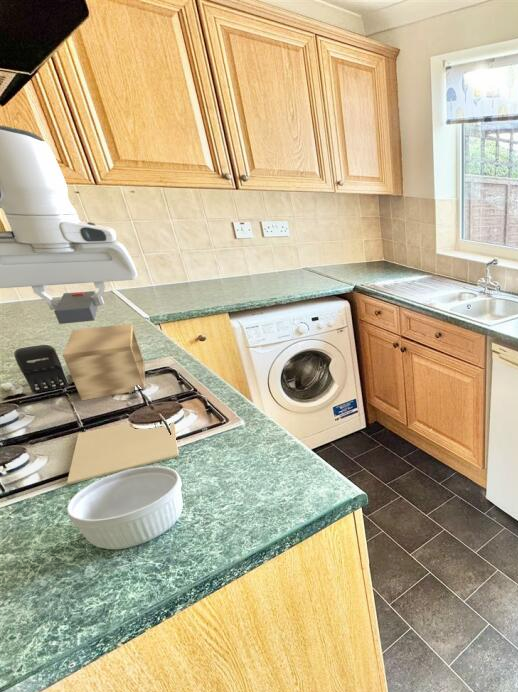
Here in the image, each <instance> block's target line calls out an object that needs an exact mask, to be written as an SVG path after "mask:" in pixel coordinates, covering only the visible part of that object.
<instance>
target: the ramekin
mask: <svg viewBox="0 0 518 692" xmlns="http://www.w3.org/2000/svg"><path fill="white" fill-rule="evenodd" d="M182 484H183V483H182V479H181V476H180V474H179V473H178V472H177V471H176V470H175V469H173V468H171V467H167V466H160V465H159V466H158V465H151V466H139V467H135V468H132V469H128V470H124V471H120V472H116V473H112V474H109V475H106V476H105V477H103V478H100V479H98V480H96V481H93V482H92V483H90V484H88V485H87V486H85V487H84V488H82V489H81V490H79V491H78V492H77V493H75V495H73V496H72V498H71V499H70V500H69V502H68V504H67V506H66V513H67V517H68V519H69V520H70V522H71V523H72V524H74V525H75V526H76V527H77V528H78V530H79V531H80V532H81V534H82V536H83V537H84V538H85V539H86V540H87V541H88V542H89V543H90V544H91V545H92V546H94V547H97V548H99V549H105V550H123V549H129V548H133V547H137V546H139V545H142V544H146V543H148V542H151V541H152V540H154V539H156V538H158V537H160V536H161V535H163V534H165V533H166V532H167V531H168V530H170V529H171V528H172V527H173V526H174V525H175V524H176V523H177V521H178V520H179V519H180V516H181V515H182V512H183V507H184V502H183V494H182Z"/></svg>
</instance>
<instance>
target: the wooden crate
mask: <svg viewBox="0 0 518 692" xmlns="http://www.w3.org/2000/svg"><path fill="white" fill-rule="evenodd" d="M62 357H63V359H64V361H65V365H66V367H67V369H68V371H69V373H70V376H71V379H72V381H73V383H74V386H75V389H76V390H77V392H78V396H79V398H80V400H81V401H86V400H92V399H98V398H99V399H100V398H105V397H109V396H115V395H121V394H126V393H132V392H135V391H134V390H135V386H136V385H139V386H140V387H141V388H142V389H143V390H146V363H145V360H144V357H143V353H142V351H141V347H140V345H139V341H138V338H137V336H136V333H135V330H134V326H133V323H127V324H119V325H118V324H117V325H109V326H98V327H87V328H80V329H72V331H71V333H70V336H69V337H68V339H67V342H66V345H65V348H64V350H63V353H62ZM143 390H142V391H143Z"/></svg>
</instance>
